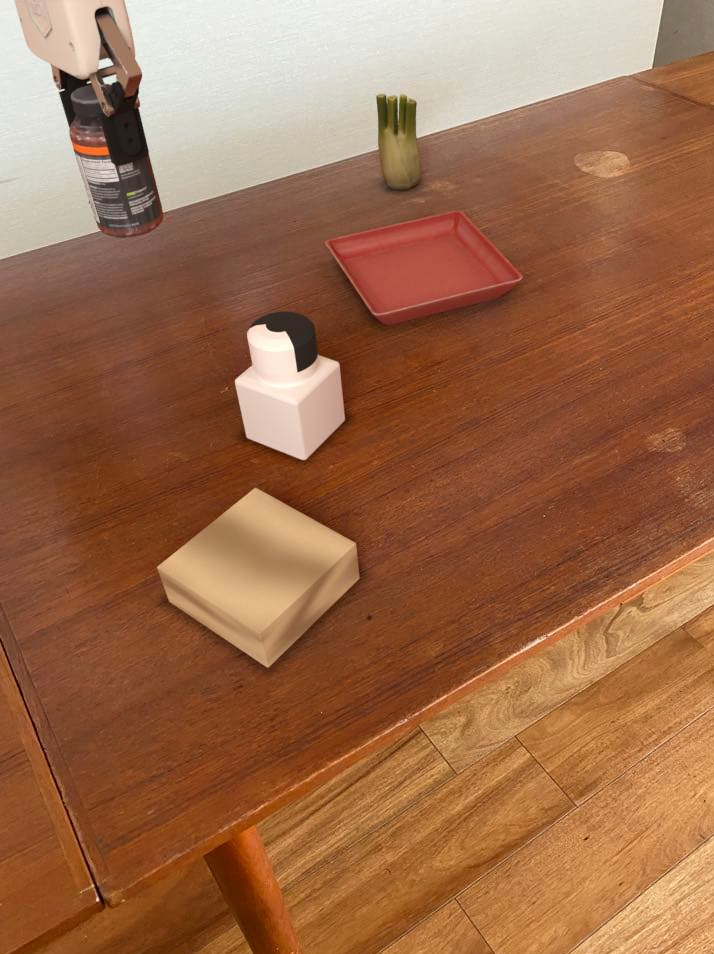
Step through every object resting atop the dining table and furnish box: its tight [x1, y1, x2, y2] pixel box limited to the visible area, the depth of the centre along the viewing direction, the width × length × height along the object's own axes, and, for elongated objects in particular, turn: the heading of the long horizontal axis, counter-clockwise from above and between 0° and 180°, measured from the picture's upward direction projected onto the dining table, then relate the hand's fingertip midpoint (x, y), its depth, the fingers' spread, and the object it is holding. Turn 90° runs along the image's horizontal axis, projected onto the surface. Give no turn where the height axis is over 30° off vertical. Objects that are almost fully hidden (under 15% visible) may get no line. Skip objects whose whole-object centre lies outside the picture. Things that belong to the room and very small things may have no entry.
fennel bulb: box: [375, 93, 422, 192], centre depth 116 cm, size 6×5×12 cm
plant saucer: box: [324, 210, 523, 326], centre depth 102 cm, size 18×18×3 cm
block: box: [156, 487, 360, 669], centre depth 69 cm, size 11×11×4 cm
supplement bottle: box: [68, 83, 164, 239], centre depth 74 cm, size 6×6×11 cm
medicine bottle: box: [234, 310, 346, 461], centre depth 80 cm, size 7×7×12 cm
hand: (110, 146), depth 73 cm, fingers closed on supplement bottle, 6 cm apart
